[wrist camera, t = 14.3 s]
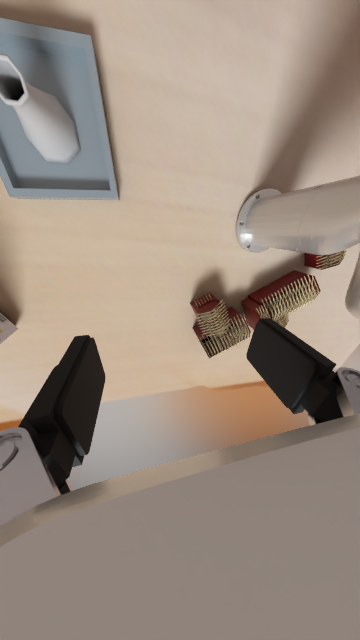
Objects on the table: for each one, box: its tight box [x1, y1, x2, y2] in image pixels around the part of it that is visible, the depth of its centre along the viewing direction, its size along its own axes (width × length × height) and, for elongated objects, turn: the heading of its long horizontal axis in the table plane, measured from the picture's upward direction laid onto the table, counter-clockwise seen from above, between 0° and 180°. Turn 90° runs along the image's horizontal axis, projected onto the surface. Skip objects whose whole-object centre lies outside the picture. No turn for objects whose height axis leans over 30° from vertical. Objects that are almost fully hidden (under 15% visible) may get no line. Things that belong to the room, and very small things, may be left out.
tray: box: [0, 18, 119, 200], centre depth 23 cm, size 16×16×2 cm
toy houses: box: [190, 250, 346, 358], centre depth 44 cm, size 45×20×10 cm, turn 116°
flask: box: [0, 53, 81, 164], centre depth 19 cm, size 7×7×10 cm
